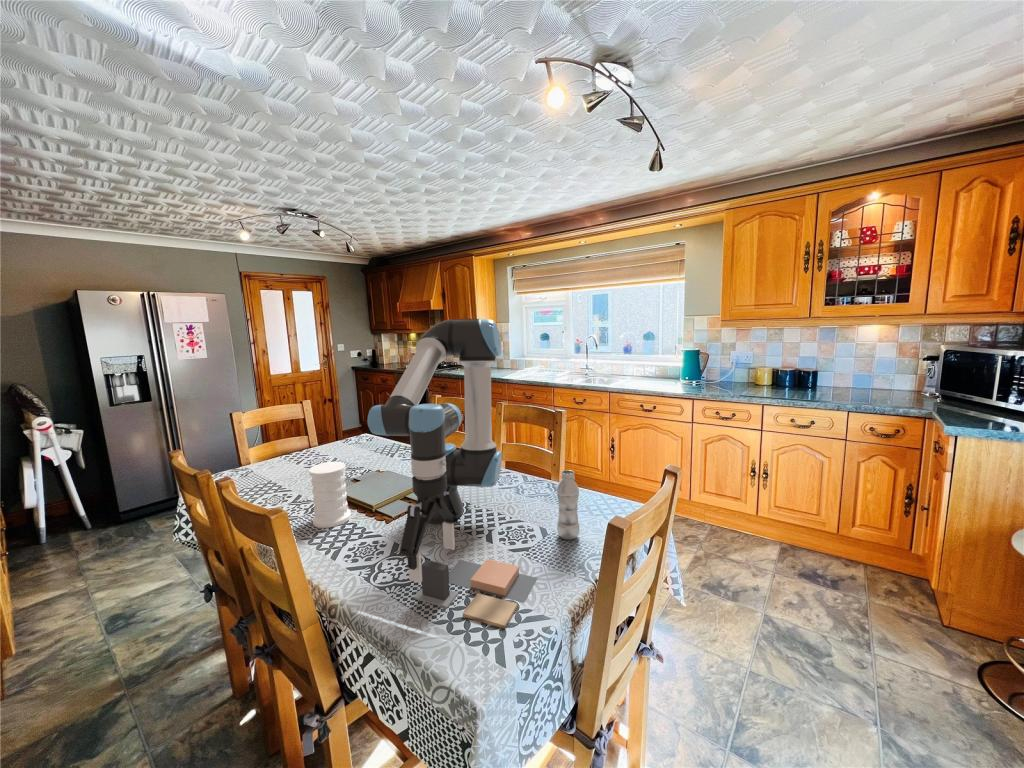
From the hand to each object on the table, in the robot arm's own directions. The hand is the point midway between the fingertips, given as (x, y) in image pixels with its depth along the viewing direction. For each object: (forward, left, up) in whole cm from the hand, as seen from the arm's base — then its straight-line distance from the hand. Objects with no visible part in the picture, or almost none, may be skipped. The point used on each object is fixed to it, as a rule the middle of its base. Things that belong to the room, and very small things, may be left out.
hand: (433, 563), depth 92 cm
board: (+14, 0, -9) cm, 17 cm away
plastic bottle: (+22, +37, -9) cm, 44 cm away
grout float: (0, 0, -9) cm, 9 cm away
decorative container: (-54, +21, -9) cm, 59 cm away
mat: (+9, +10, -9) cm, 16 cm away
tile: (+6, +10, -7) cm, 14 cm away
